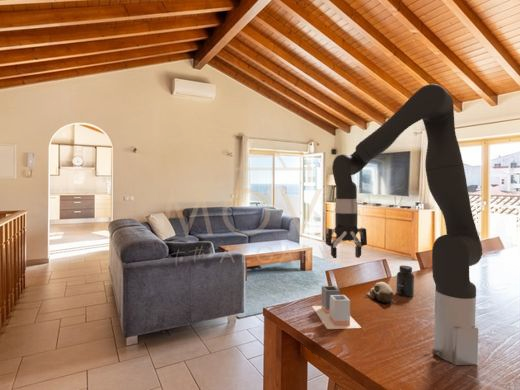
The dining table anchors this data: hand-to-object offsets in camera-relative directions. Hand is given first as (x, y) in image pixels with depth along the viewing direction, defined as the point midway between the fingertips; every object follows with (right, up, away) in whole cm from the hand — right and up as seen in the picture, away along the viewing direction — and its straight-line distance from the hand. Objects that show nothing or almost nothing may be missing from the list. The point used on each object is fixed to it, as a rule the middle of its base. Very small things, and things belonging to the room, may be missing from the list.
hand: (346, 257), depth 106 cm
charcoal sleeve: (-5, -19, +1) cm, 20 cm away
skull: (+18, -21, +16) cm, 32 cm away
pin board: (-5, -21, -4) cm, 22 cm away
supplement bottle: (+32, -21, +23) cm, 44 cm away
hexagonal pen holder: (-4, -19, -8) cm, 21 cm away
